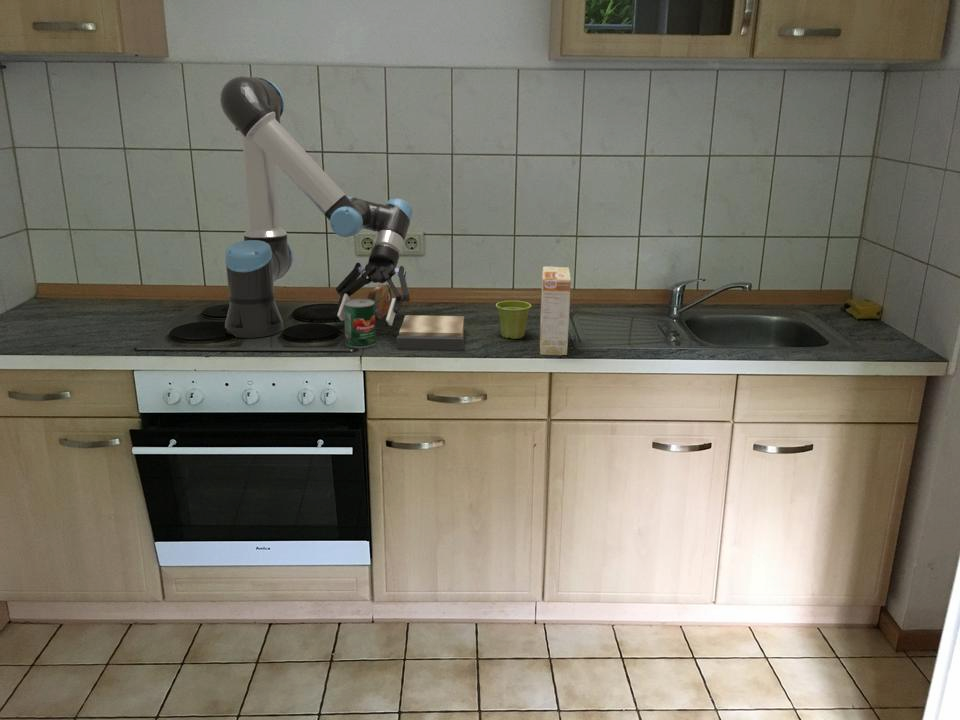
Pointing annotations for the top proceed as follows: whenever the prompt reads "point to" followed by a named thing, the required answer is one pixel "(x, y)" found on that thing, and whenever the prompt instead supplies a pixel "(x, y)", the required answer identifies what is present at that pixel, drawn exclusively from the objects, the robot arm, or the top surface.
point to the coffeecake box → (555, 310)
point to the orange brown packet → (381, 300)
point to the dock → (431, 333)
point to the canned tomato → (359, 323)
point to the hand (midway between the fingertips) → (364, 320)
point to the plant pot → (513, 318)
